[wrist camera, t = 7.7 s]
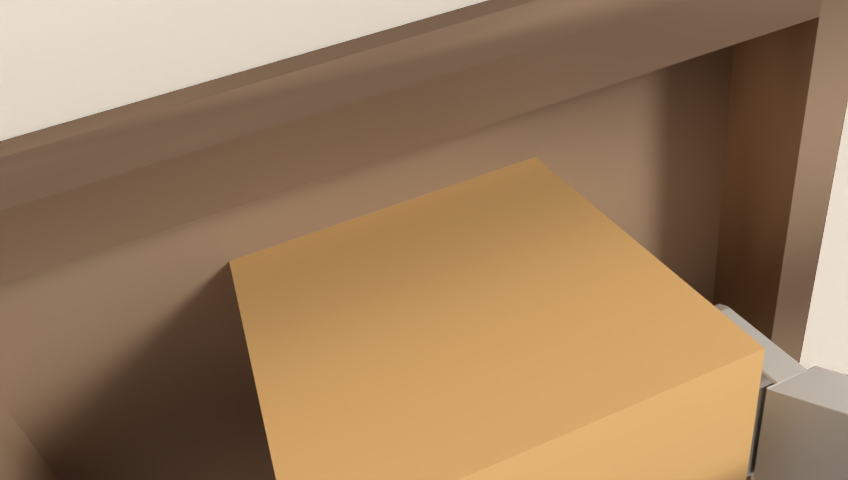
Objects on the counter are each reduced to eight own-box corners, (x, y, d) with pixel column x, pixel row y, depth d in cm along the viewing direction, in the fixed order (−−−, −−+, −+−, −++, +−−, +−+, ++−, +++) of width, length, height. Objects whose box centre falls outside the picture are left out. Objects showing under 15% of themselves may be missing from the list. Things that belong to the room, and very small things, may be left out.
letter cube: (555, 375, 14) (733, 609, 10) (317, 474, 13) (403, 777, 9) (535, 156, 11) (772, 353, 7) (229, 261, 10) (293, 562, 6)
